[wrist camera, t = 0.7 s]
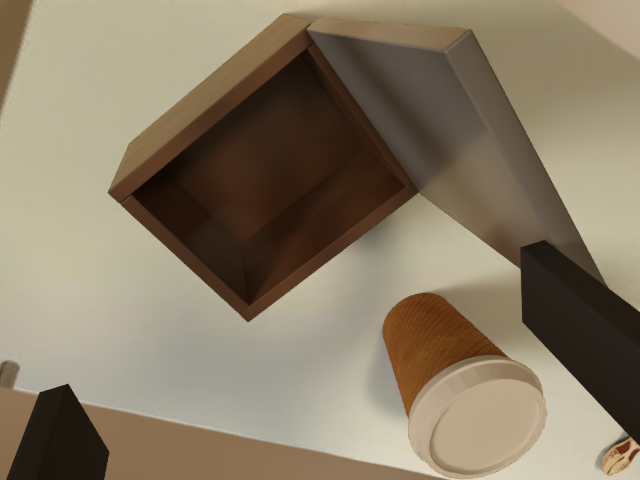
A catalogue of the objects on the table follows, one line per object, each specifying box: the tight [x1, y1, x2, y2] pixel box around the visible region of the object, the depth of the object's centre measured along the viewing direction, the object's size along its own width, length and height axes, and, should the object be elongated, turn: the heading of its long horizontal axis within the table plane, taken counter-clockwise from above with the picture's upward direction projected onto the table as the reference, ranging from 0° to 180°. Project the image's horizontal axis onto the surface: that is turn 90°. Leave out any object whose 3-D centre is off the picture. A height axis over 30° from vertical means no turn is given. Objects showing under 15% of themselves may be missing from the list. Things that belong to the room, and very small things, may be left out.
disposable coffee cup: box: [383, 293, 547, 479], centre depth 39 cm, size 10×10×12 cm
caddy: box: [108, 14, 419, 322], centre depth 31 cm, size 13×11×9 cm
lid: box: [307, 19, 608, 288], centre depth 20 cm, size 14×11×1 cm
